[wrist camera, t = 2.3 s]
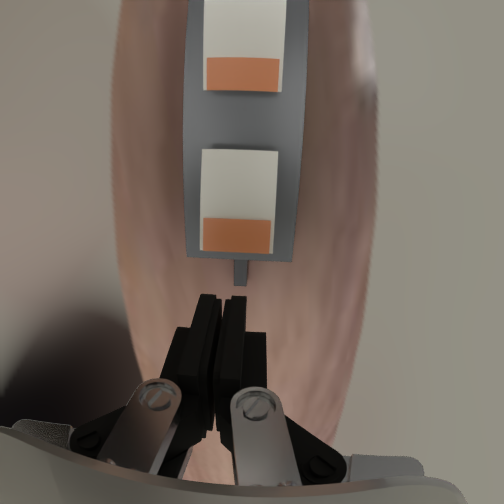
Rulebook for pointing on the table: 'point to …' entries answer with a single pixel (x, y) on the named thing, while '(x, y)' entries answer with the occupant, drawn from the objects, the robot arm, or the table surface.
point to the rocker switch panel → (246, 132)
